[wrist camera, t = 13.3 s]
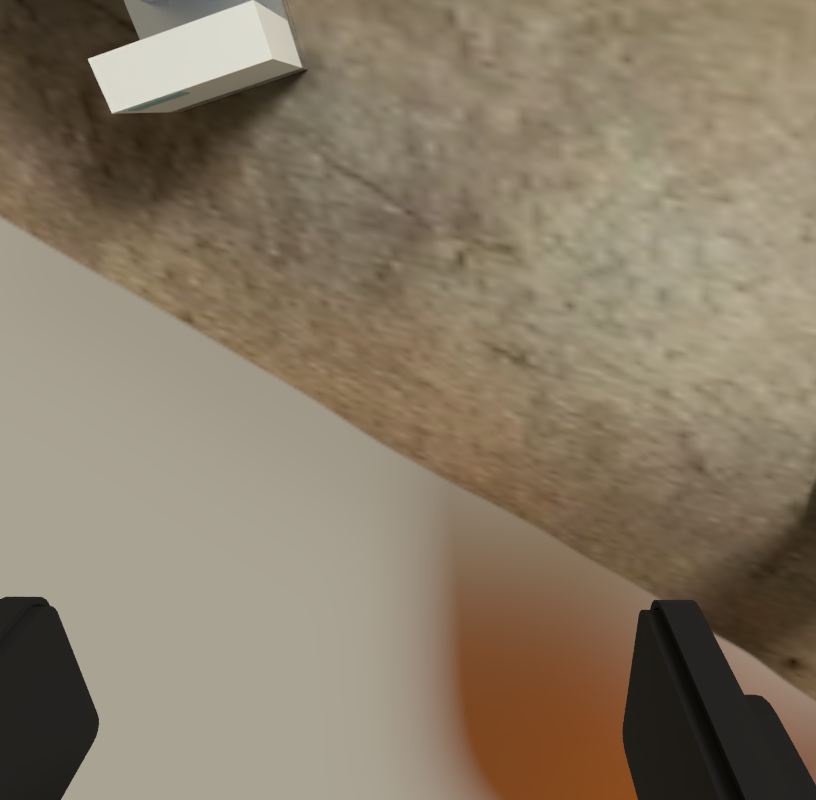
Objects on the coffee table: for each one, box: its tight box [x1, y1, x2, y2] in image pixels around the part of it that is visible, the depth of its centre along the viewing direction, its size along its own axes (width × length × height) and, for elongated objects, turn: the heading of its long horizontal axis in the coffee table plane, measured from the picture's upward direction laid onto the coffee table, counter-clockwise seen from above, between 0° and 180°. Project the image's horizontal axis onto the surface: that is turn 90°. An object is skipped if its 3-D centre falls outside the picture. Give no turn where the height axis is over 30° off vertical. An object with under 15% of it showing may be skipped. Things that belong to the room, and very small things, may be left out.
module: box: [88, 0, 302, 114], centre depth 26 cm, size 2×7×6 cm, turn 106°
